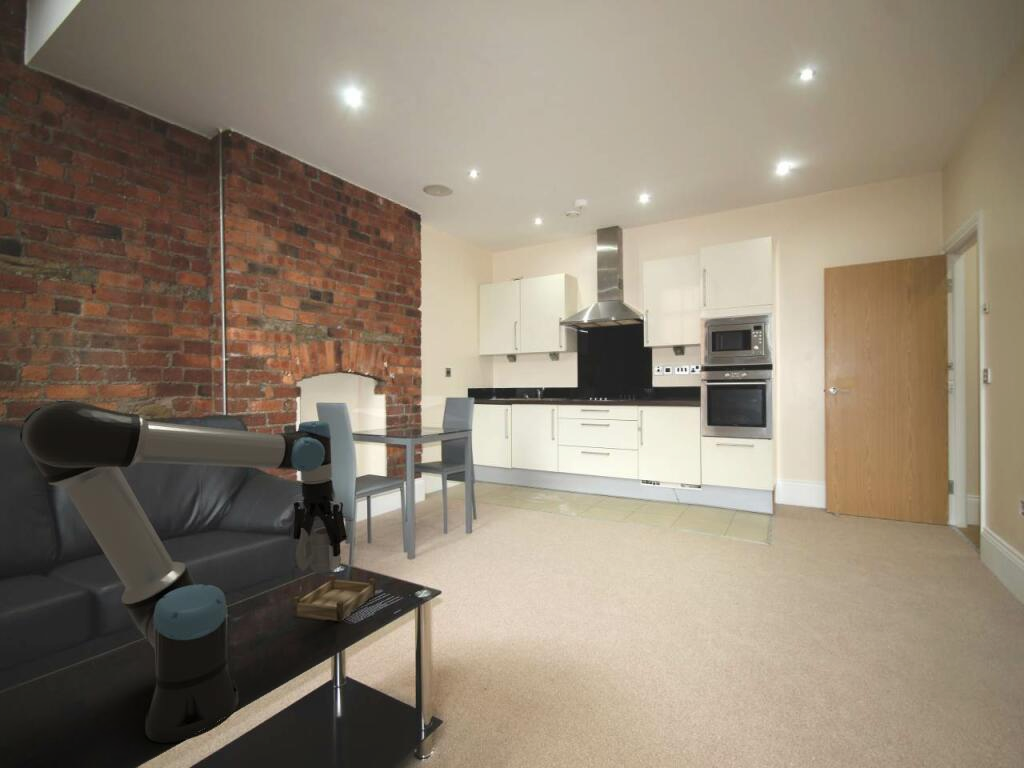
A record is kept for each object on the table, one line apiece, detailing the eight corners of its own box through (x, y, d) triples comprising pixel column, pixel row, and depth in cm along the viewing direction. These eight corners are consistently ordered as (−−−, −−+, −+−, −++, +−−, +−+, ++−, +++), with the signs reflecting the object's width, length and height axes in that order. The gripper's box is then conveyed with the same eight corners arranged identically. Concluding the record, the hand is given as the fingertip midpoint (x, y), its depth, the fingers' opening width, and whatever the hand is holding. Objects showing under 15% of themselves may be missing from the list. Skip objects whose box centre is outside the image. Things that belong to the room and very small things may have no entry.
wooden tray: (340, 622, 132) (340, 603, 132) (293, 616, 136) (293, 598, 136) (375, 595, 148) (374, 578, 148) (332, 590, 152) (332, 574, 152)
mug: (347, 565, 132) (345, 521, 132) (304, 581, 123) (302, 533, 122) (331, 559, 137) (329, 516, 136) (289, 573, 128) (287, 527, 127)
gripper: (359, 478, 129) (363, 564, 130) (295, 476, 136) (299, 558, 136) (341, 485, 122) (345, 576, 123) (274, 482, 128) (278, 569, 129)
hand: (321, 566), depth 130 cm, fingers closed on mug, 8 cm apart
